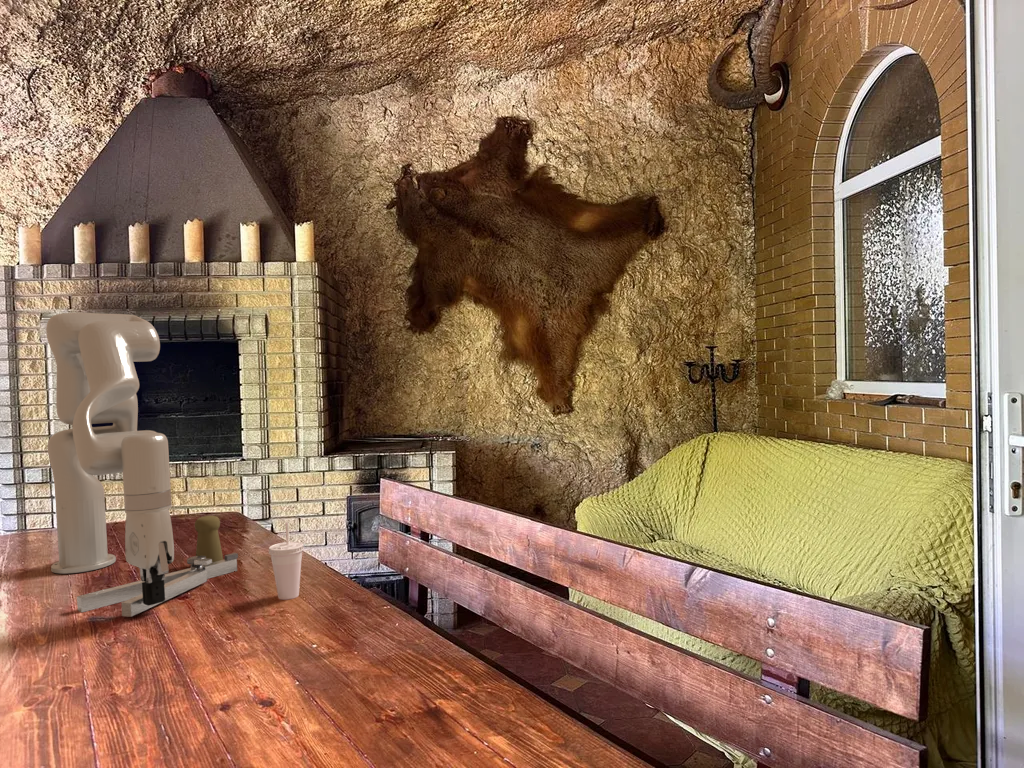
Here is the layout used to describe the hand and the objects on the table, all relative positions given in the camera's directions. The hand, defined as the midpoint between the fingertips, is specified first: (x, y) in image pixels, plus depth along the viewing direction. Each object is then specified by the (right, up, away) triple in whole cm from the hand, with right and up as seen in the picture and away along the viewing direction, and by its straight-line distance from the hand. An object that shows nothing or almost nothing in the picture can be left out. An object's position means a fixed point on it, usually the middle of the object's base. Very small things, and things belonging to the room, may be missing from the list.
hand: (154, 602), depth 125 cm
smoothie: (+22, -1, +6) cm, 23 cm away
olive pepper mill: (-3, -1, +30) cm, 31 cm away
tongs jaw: (-2, -1, +9) cm, 10 cm away
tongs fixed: (-5, -2, +14) cm, 15 cm away
